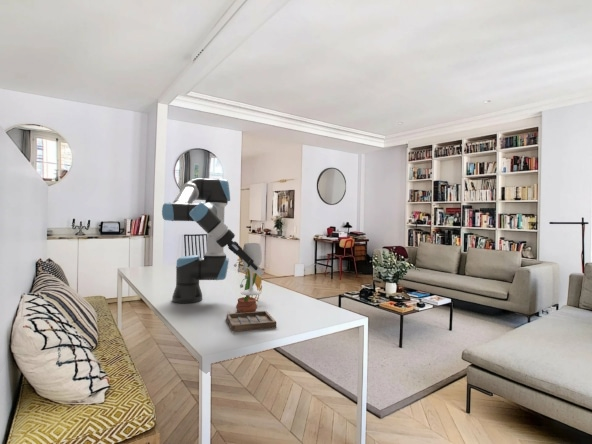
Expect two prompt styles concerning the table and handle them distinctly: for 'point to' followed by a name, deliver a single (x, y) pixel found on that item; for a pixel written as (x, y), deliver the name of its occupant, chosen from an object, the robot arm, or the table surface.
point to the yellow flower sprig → (256, 282)
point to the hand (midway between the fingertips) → (259, 272)
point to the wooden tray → (250, 321)
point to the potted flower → (246, 302)
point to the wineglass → (256, 255)
